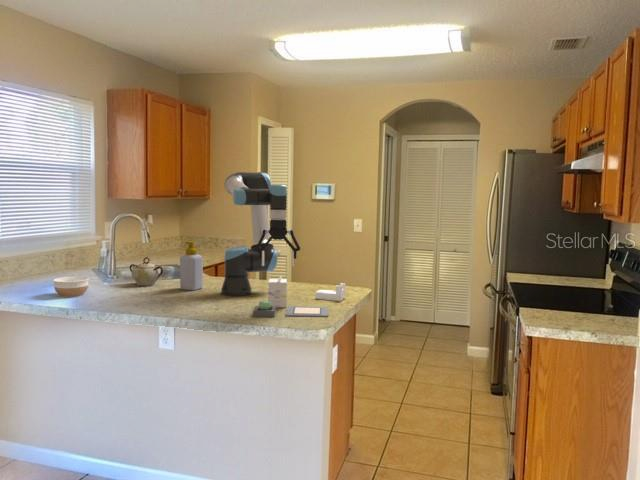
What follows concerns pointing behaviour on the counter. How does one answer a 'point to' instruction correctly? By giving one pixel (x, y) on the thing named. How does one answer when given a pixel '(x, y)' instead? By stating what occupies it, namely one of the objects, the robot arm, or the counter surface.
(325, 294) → the bracket
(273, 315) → the button housing
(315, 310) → the clipboard
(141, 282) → the sugar bowl
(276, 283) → the ink box
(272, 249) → the robot arm
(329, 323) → the counter surface
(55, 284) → the bowl
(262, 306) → the button
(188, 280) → the soap bottle
